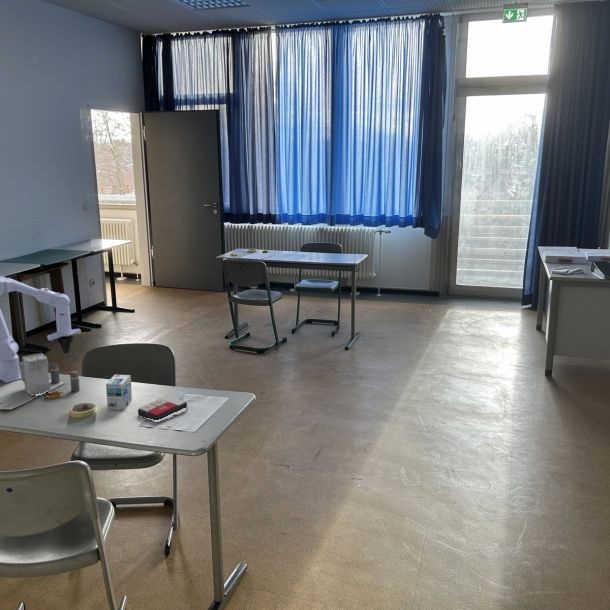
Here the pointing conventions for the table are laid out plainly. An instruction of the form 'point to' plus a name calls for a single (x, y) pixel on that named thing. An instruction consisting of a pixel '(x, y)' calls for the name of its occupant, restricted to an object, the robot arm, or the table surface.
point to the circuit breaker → (35, 373)
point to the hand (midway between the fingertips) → (65, 352)
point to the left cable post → (54, 373)
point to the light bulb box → (119, 392)
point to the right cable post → (74, 381)
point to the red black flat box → (161, 408)
